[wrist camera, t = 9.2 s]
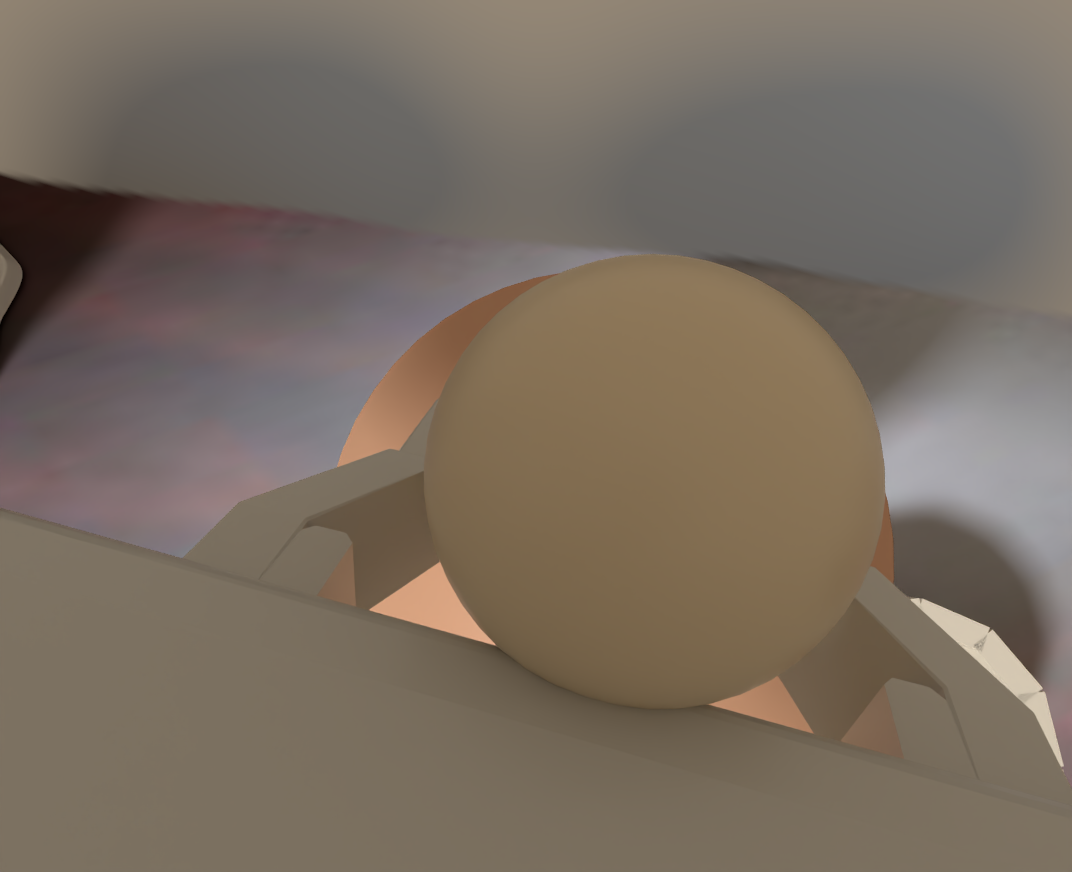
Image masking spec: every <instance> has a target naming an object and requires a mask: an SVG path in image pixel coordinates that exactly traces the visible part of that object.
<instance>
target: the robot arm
mask: <svg viewBox="0 0 1072 872" xmlns="http://www.w3.org/2000/svg"><path fill="white" fill-rule="evenodd" d="M21 280H22V269H21V266H20V265H19V263H18V262H17V261H16V260H15V259H14V258H13V257H12V256H11V255H10V253H9V252H8V251H7V250H6V249H5V248H4V247H3V246H2V245H1V244H0V323H1V320H2V317H3V316H4V314H5V312H6V311H7V309H8V307H9V305H10V304H11V302H12V300H13V298H14V297H15V295H16V293H17V291H18V289H19V286H20V284H21ZM438 400H439V398H438V399H437V400H436V401H435V402H434V404H433V405H432V407H431V408H430V409H429V411H428V412H427V413H426V415H425V416H424V417H423V419H422V420H421V421H420V423H419V424H418V425H417V427H416V428H415V429H414V431H413V432H412V434H411V435H410V436H409V438H408V439H407V440H406V442H405V443H404V444H403V446H402V447H401V448H400V450H399V451H398V450H394V449H387V450H384V451H381V452H379V453H376V454H373V455H370V456H367V457H365V458H362V459H359V460H356V461H353V462H351V463H348V464H345V465H342V466H339V467H337V468H334V469H331V470H328V471H325V472H323V473H320V474H317V475H314V476H311V477H308V478H306V479H303V480H300V481H297V482H294V483H292V484H289V485H286V486H283V487H280V488H278V489H275V490H272V491H269V492H266V493H264V494H261V495H258V496H255V497H252V498H250V499H247V500H244V501H241V502H239V503H238V504H237V505H236V506H235V507H234V508H233V509H232V510H231V511H230V512H229V513H228V514H227V515H226V516H225V517H224V518H223V519H222V520H221V521H220V522H219V523H218V524H217V525H216V526H215V527H214V528H213V529H212V530H211V531H210V532H209V533H208V534H207V535H206V536H205V537H204V538H203V539H202V540H201V541H200V542H199V543H198V544H197V545H196V546H195V547H194V548H193V549H192V550H190V551H189V552H188V553H187V554H186V555H185V556H184V557H183V558H179V557H175V556H172V555H168V554H165V553H161V552H157V551H154V550H150V549H147V548H143V547H139V546H136V545H132V544H129V543H125V542H121V541H118V540H114V539H111V538H107V537H103V536H100V535H96V534H93V533H89V532H85V531H82V530H78V529H75V528H71V527H68V526H64V525H60V524H57V523H53V522H50V521H46V520H42V519H39V518H35V517H32V516H28V515H24V514H21V513H17V512H14V511H10V510H6V509H3V508H0V872H1072V788H1071V786H1070V784H1069V782H1068V780H1067V778H1066V776H1065V774H1064V772H1063V770H1062V768H1061V766H1060V764H1059V762H1058V760H1057V758H1056V756H1055V754H1054V752H1053V750H1052V748H1051V746H1050V744H1049V742H1048V740H1047V738H1046V736H1045V734H1044V732H1043V730H1042V728H1041V726H1040V724H1039V722H1038V720H1037V718H1036V716H1035V714H1034V712H1033V711H1032V710H1030V709H1029V708H1028V707H1027V706H1026V705H1025V704H1024V703H1023V702H1022V701H1021V700H1020V699H1018V698H1017V697H1016V696H1015V695H1014V694H1013V693H1012V692H1011V691H1010V690H1009V689H1007V688H1006V687H1005V686H1004V685H1003V684H1002V683H1001V682H1000V681H999V680H998V679H997V678H995V677H994V676H993V675H992V674H991V673H990V672H989V671H988V670H987V669H986V668H985V667H983V666H982V665H981V664H980V663H979V662H978V661H977V660H976V659H975V658H974V657H972V656H971V655H970V654H969V653H968V652H967V651H966V650H965V649H964V648H963V647H962V646H960V645H959V644H958V643H957V642H956V641H955V640H954V639H953V638H952V637H951V636H949V635H948V634H947V633H946V632H945V631H944V630H943V629H942V628H941V627H940V626H939V625H937V624H936V623H935V622H934V621H933V620H932V619H931V618H930V617H929V616H928V615H927V614H925V613H924V612H923V611H922V610H921V609H920V608H919V607H918V606H917V605H916V604H914V603H913V602H912V601H911V600H910V599H909V598H908V597H907V596H906V595H905V594H904V593H902V592H901V591H900V590H899V589H898V588H897V587H896V586H895V585H894V584H893V583H891V582H890V581H889V580H888V579H887V578H886V577H885V576H884V575H883V574H882V573H881V572H879V571H878V570H877V569H876V568H875V567H871V566H870V567H869V570H868V572H867V574H866V577H865V579H864V581H863V584H862V586H861V588H860V590H859V591H858V593H857V594H856V596H855V598H854V599H853V601H852V603H851V604H850V606H849V607H848V609H847V611H846V612H845V614H844V615H843V616H842V617H841V619H840V620H839V621H838V622H837V623H836V625H835V626H834V627H833V628H832V629H831V631H830V632H829V633H828V634H827V635H826V637H825V638H824V639H823V640H822V641H821V642H820V643H819V644H818V645H817V646H815V647H814V648H813V649H812V650H811V651H810V652H809V653H808V654H806V655H805V656H804V657H803V658H802V659H801V660H800V661H799V662H798V663H796V664H795V665H793V666H792V667H790V668H789V669H787V670H786V671H784V672H783V673H781V674H780V675H778V677H779V678H780V680H781V682H782V683H783V685H784V686H785V688H786V690H787V691H788V693H789V694H790V696H791V698H792V699H793V701H794V702H795V704H796V706H797V707H798V709H799V711H800V712H801V714H802V715H803V717H804V719H805V720H806V722H807V723H808V725H809V727H810V728H811V730H812V731H813V733H814V734H813V733H809V732H806V731H802V730H799V729H795V728H791V727H788V726H784V725H781V724H777V723H774V722H770V721H766V720H763V719H759V718H756V717H752V716H749V715H745V714H741V713H738V712H734V711H731V710H727V709H724V708H720V707H716V706H713V705H709V704H706V705H699V706H693V707H687V708H681V709H642V708H635V707H628V706H621V705H615V704H611V703H607V702H603V701H600V700H596V699H592V698H588V697H585V696H582V695H579V694H577V693H574V692H572V691H569V690H567V689H564V688H562V687H559V686H556V685H554V684H552V683H550V682H548V681H547V680H545V679H543V678H541V677H539V676H538V675H536V674H534V673H532V672H531V671H529V670H527V669H526V668H524V667H523V666H522V665H520V664H519V663H518V662H516V661H515V660H514V659H512V658H511V657H510V656H508V655H507V654H506V653H504V652H503V651H502V650H501V649H500V648H499V647H498V646H496V645H493V644H489V643H485V642H482V641H478V640H474V639H471V638H467V637H464V636H460V635H456V634H453V633H449V632H446V631H442V630H438V629H435V628H431V627H428V626H424V625H420V624H417V623H413V622H410V621H406V620H402V619H399V618H395V617H392V616H388V615H384V614H381V613H377V612H374V611H370V610H369V609H371V608H372V607H374V606H375V605H377V604H378V603H380V602H381V601H383V600H384V599H386V598H387V597H389V596H390V595H392V594H393V593H395V592H396V591H397V590H399V589H400V588H402V587H403V586H405V585H406V584H408V583H409V582H411V581H412V580H414V579H415V578H417V577H418V576H420V575H421V574H423V573H424V572H426V571H427V570H428V569H430V568H431V567H433V566H434V565H436V564H437V563H439V558H438V555H437V553H436V550H435V547H434V543H433V540H432V536H431V532H430V528H429V524H428V520H427V512H426V504H425V497H424V460H425V452H426V445H427V437H428V433H429V429H430V425H431V421H432V418H433V414H434V410H435V407H436V405H437V402H438Z"/></svg>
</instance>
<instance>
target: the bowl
mask: <svg viewBox="0 0 1072 872" xmlns="http://www.w3.org/2000/svg"><path fill="white" fill-rule="evenodd" d="M908 598H909V599H910V600H911V601H912V602H913V603H914V604H916V605H917V606H918V607H919V608H920V609H921V610H922V611H923V612H924V613H925V614H927V615H928V616H929V617H930V618H931V619H932V620H933V621H934V622H935V623H936V624H937V625H939V626H940V627H941V628H942V629H943V630H944V631H945V632H946V633H947V634H948V635H949V636H951V637H952V638H953V639H954V640H955V641H956V642H957V643H958V644H959V645H960V646H962V647H963V648H964V649H965V650H966V651H967V652H968V653H969V654H970V655H971V656H972V657H974V658H975V659H976V660H977V661H978V662H979V663H980V664H981V665H982V666H983V667H985V668H986V669H987V670H988V671H989V672H990V673H991V674H992V675H993V676H994V677H995V678H997V679H998V680H999V681H1000V682H1001V683H1002V684H1003V685H1004V686H1005V687H1006V688H1007V689H1009V690H1010V691H1011V692H1012V693H1013V694H1014V695H1015V696H1016V697H1017V698H1018V699H1020V700H1021V701H1022V702H1023V703H1024V704H1025V705H1026V706H1027V707H1028V708H1029V709H1030V710H1032V711H1033V712H1034V714H1035V716H1036V718H1037V720H1038V722H1039V724H1040V726H1041V728H1042V730H1043V732H1044V734H1045V736H1046V738H1047V740H1048V742H1049V744H1050V746H1051V748H1052V750H1053V752H1054V754H1055V756H1056V758H1057V760H1058V762H1059V764H1060V766H1061V767H1062V766H1063V762H1062V758H1061V754H1060V750H1059V746H1058V742H1057V738H1056V734H1055V730H1054V726H1053V722H1052V718H1051V714H1050V711H1049V707H1048V703H1047V699H1046V695H1045V692H1044V691H1041V689H1043V688H1042V687H1041V685H1040V684H1039V683H1038V682H1037V681H1036V680H1035V678H1034V677H1033V676H1032V675H1031V674H1030V673H1029V671H1028V670H1027V669H1026V668H1025V667H1024V666H1023V664H1022V663H1021V662H1020V661H1019V660H1018V659H1017V657H1016V656H1015V655H1014V654H1013V653H1012V652H1011V650H1010V649H1009V648H1008V647H1007V646H1006V645H1005V643H1004V642H1003V641H1002V640H1001V639H1000V638H999V636H998V635H997V634H996V633H995V632H994V631H993V630H992V629H989V628H990V627H987V626H985V625H983V624H980V623H978V622H976V621H974V620H971V619H969V618H967V617H964V616H962V615H960V614H957V613H955V612H953V611H950V610H948V609H946V608H943V607H941V606H939V605H936V604H934V603H932V602H929V601H927V600H925V599H921V598H914V597H908ZM1063 771H1064V770H1063Z"/></svg>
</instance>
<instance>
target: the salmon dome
mask: <svg viewBox="0 0 1072 872" xmlns="http://www.w3.org/2000/svg"><path fill="white" fill-rule="evenodd" d="M438 398H439V400H438V402H437V405H436V407H435V410H434V414H433V418H432V421H431V425H430V429H429V433H428V437H427V445H426V452H425V460H424V497H425V504H426V512H427V520H428V524H429V528H430V532H431V536H432V540H433V543H434V547H435V550H436V553H437V555H438V558H439V563H437V564H436V565H434V566H433V567H431V568H430V569H428V570H427V571H426V572H424V573H423V574H421V575H420V576H418V577H417V578H415V579H414V580H412V581H411V582H409V583H408V584H406V585H405V586H403V587H402V588H400V589H399V590H397V591H396V592H395V593H393V594H392V595H390V596H389V597H387V598H386V599H384V600H383V601H381V602H380V603H378V604H377V605H375V606H374V607H372V608H371V609H369V610H370V611H374V612H377V613H381V614H384V615H388V616H392V617H395V618H399V619H402V620H406V621H410V622H413V623H417V624H420V625H424V626H428V627H431V628H435V629H438V630H442V631H446V632H449V633H453V634H456V635H460V636H464V637H467V638H471V639H474V640H478V641H482V642H485V643H489V644H493V645H496V646H498V647H499V648H500V649H501V650H502V651H503V652H504V653H506V654H507V655H508V656H510V657H511V658H512V659H514V660H515V661H516V662H518V663H519V664H520V665H522V666H523V667H524V668H526V669H527V670H529V671H531V672H532V673H534V674H536V675H538V676H539V677H541V678H543V679H545V680H547V681H548V682H550V683H552V684H554V685H556V686H559V687H562V688H564V689H567V690H569V691H572V692H574V693H577V694H579V695H582V696H585V697H588V698H592V699H596V700H600V701H603V702H607V703H611V704H615V705H621V706H628V707H635V708H642V709H681V708H687V707H693V706H699V705H706V704H709V705H713V706H716V707H720V708H724V709H727V710H731V711H734V712H738V713H741V714H745V715H749V716H752V717H756V718H759V719H763V720H766V721H770V722H774V723H777V724H781V725H784V726H788V727H791V728H795V729H799V730H802V731H806V732H809V733H813V731H812V730H811V728H810V727H809V725H808V723H807V722H806V720H805V719H804V717H803V715H802V714H801V712H800V711H799V709H798V707H797V706H796V704H795V702H794V701H793V699H792V698H791V696H790V694H789V693H788V691H787V690H786V688H785V686H784V685H783V683H782V682H781V680H780V678H779V677H778V675H780V674H781V673H783V672H784V671H786V670H787V669H789V668H790V667H792V666H793V665H795V664H796V663H798V662H799V661H800V660H801V659H802V658H803V657H804V656H805V655H806V654H808V653H809V652H810V651H811V650H812V649H813V648H814V647H815V646H817V645H818V644H819V643H820V642H821V641H822V640H823V639H824V638H825V637H826V635H827V634H828V633H829V632H830V631H831V629H832V628H833V627H834V626H835V625H836V623H837V622H838V621H839V620H840V619H841V617H842V616H843V615H844V614H845V612H846V611H847V609H848V607H849V606H850V604H851V603H852V601H853V599H854V598H855V596H856V594H857V593H858V591H859V590H860V588H861V586H862V584H863V581H864V579H865V577H866V574H867V572H868V570H869V567H870V566H871V567H875V568H876V569H877V570H878V571H879V572H881V573H882V574H883V575H884V576H885V577H886V578H887V579H888V580H889V581H890V582H891V583H893V582H894V550H893V534H892V527H891V521H890V514H889V507H888V501H887V497H886V494H885V467H884V459H883V453H882V446H881V440H880V434H879V430H878V427H877V423H876V420H875V416H874V413H873V410H872V406H871V404H870V402H869V399H868V397H867V395H866V392H865V390H864V388H863V386H862V383H861V381H860V379H859V377H858V376H857V374H856V372H855V371H854V369H853V367H852V366H851V364H850V362H849V361H848V359H847V357H846V356H845V354H844V353H843V352H842V350H841V349H840V348H839V347H838V345H837V344H836V343H835V342H834V340H833V339H832V338H831V337H830V335H829V334H828V333H827V332H826V331H825V330H824V329H823V328H822V327H821V326H820V325H819V324H818V323H817V322H816V321H815V320H814V319H813V318H812V317H811V316H810V315H809V314H808V313H807V312H806V311H805V310H803V309H802V308H801V307H800V306H798V305H797V304H796V303H794V302H793V301H792V300H790V299H789V298H788V297H787V296H785V295H784V294H782V293H781V292H779V291H777V290H776V289H774V288H772V287H770V286H769V285H767V284H765V283H764V282H762V281H760V280H758V279H756V278H754V277H752V276H749V275H747V274H745V273H742V272H740V271H738V270H736V269H733V268H730V267H727V266H723V265H720V264H717V263H714V262H710V261H707V260H702V259H696V258H690V257H685V256H678V255H661V254H644V255H628V256H620V257H615V258H609V259H604V260H599V261H595V262H591V263H588V264H585V265H582V266H579V267H575V268H572V269H569V270H566V271H564V272H562V273H559V274H554V275H548V276H543V277H538V278H534V279H531V280H527V281H524V282H521V283H518V284H515V285H511V286H508V287H505V288H502V289H500V290H498V291H496V292H494V293H491V294H489V295H487V296H485V297H482V298H480V299H478V300H476V301H474V302H472V303H470V304H469V305H467V306H465V307H464V308H462V309H460V310H459V311H457V312H455V313H454V314H452V315H450V316H449V317H447V318H445V319H444V320H443V321H441V322H440V323H439V324H438V325H436V326H435V327H434V328H433V329H431V330H430V331H429V332H427V333H426V334H425V335H424V336H422V337H421V338H420V339H419V340H417V341H416V342H415V343H414V344H413V345H412V346H411V347H410V349H409V350H408V351H407V352H406V353H405V354H404V355H403V356H402V357H401V358H400V359H399V360H398V361H397V362H396V363H395V364H394V365H393V366H392V367H391V369H390V370H389V371H388V373H387V374H386V375H385V376H384V378H383V379H382V380H381V382H380V383H379V384H378V385H377V387H376V388H375V389H374V391H373V392H372V394H371V395H370V397H369V399H368V401H367V402H366V404H365V406H364V407H363V409H362V411H361V412H360V414H359V416H358V417H357V419H356V421H355V423H354V425H353V428H352V430H351V432H350V434H349V437H348V439H347V441H346V444H345V446H344V448H343V450H342V453H341V456H340V459H339V463H338V466H337V467H339V466H342V465H345V464H348V463H351V462H353V461H356V460H359V459H362V458H365V457H367V456H370V455H373V454H376V453H379V452H381V451H384V450H387V449H394V450H398V451H399V450H400V448H401V447H402V446H403V444H404V443H405V442H406V440H407V439H408V438H409V436H410V435H411V434H412V432H413V431H414V429H415V428H416V427H417V425H418V424H419V423H420V421H421V420H422V419H423V417H424V416H425V415H426V413H427V412H428V411H429V409H430V408H431V407H432V405H433V404H434V402H435V401H436V400H437V399H438ZM813 734H814V733H813Z"/></svg>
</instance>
